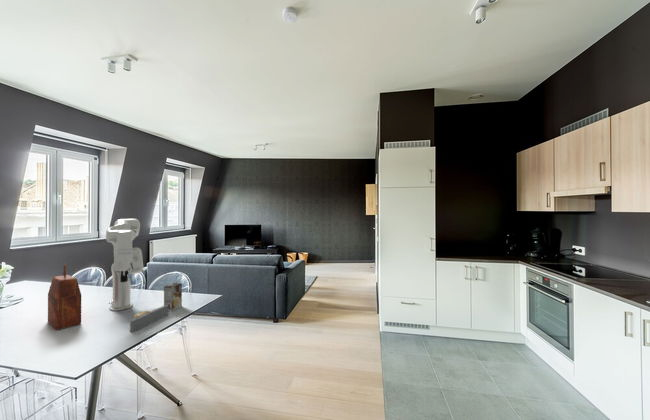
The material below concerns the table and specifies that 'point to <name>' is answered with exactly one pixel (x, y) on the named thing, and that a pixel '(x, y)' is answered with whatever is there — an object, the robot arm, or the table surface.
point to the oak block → (141, 314)
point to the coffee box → (173, 296)
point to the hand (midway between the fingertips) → (124, 281)
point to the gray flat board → (148, 318)
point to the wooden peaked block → (64, 302)
